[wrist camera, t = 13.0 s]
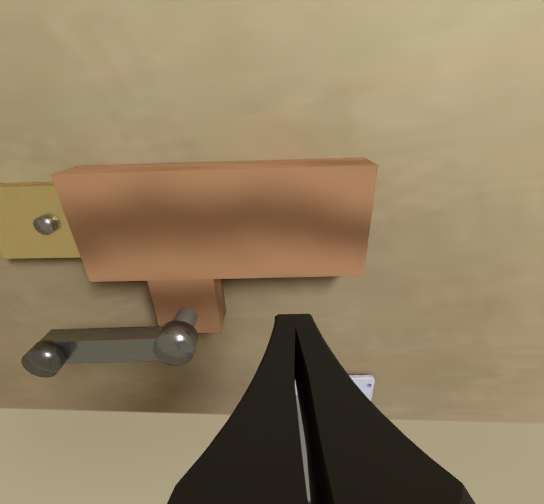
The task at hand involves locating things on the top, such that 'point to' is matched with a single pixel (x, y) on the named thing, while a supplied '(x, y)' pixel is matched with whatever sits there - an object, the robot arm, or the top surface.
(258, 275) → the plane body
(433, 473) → the robot arm
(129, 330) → the lever
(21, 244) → the wooden block with bolt
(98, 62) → the top surface
